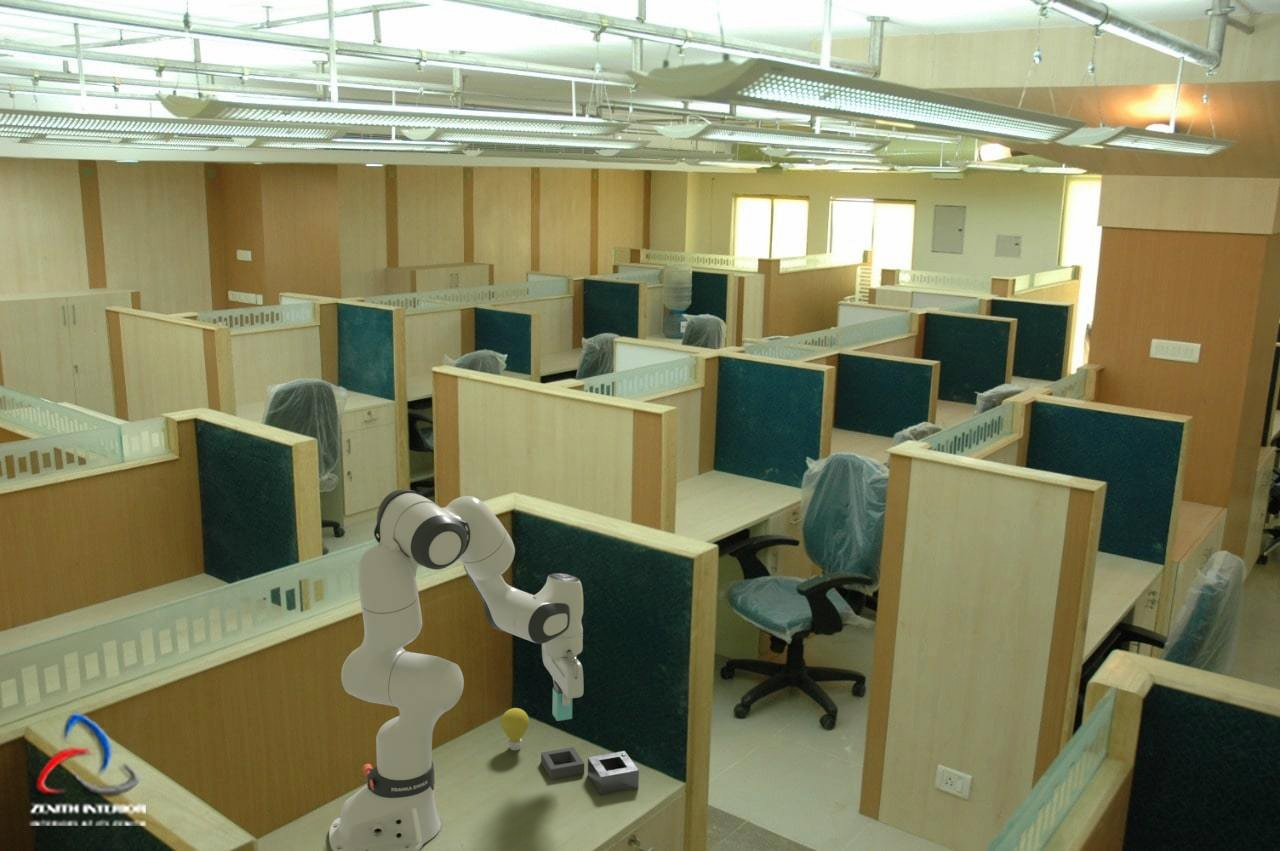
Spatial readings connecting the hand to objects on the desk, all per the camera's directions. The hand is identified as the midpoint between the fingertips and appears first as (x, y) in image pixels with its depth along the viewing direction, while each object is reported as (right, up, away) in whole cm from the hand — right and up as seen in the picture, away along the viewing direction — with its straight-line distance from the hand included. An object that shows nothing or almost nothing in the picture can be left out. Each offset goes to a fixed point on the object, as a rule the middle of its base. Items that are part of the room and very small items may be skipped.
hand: (562, 699), depth 242 cm
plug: (0, -4, +1) cm, 4 cm away
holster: (0, -17, +4) cm, 17 cm away
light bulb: (-12, -15, +12) cm, 23 cm away
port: (+12, -18, -2) cm, 22 cm away
